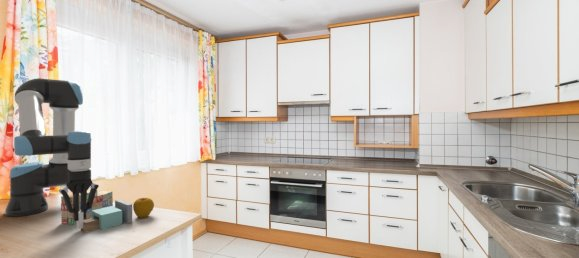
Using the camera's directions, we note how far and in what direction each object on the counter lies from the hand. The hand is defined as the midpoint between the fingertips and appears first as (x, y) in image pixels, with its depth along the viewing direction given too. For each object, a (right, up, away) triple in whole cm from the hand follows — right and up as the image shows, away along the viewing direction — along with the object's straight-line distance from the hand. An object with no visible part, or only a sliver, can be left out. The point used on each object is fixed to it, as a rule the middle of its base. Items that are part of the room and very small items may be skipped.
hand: (79, 227), depth 112 cm
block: (+6, -1, +8) cm, 10 cm away
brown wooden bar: (+4, -2, +4) cm, 6 cm away
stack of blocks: (-9, -1, +18) cm, 20 cm away
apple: (+16, -1, +18) cm, 24 cm away
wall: (+9, -1, +14) cm, 17 cm away
